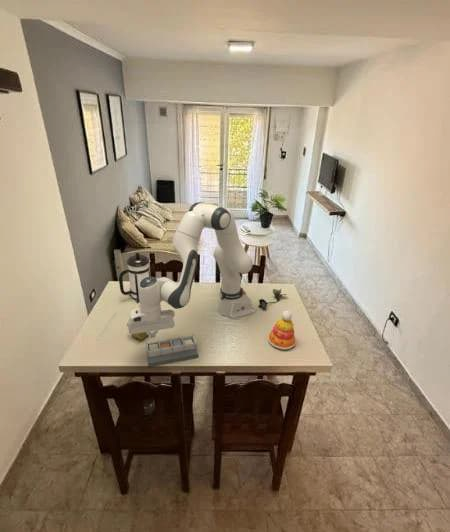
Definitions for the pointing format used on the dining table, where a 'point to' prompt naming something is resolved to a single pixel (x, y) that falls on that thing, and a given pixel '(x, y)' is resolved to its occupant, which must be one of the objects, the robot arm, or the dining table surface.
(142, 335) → the flower pot
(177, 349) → the keypad
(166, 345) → the key terracotta
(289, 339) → the stacking toy
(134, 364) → the dining table surface
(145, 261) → the coffee press
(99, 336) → the butter knife
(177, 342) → the key slate
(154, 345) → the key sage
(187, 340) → the key ivory
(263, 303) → the artificial flower
